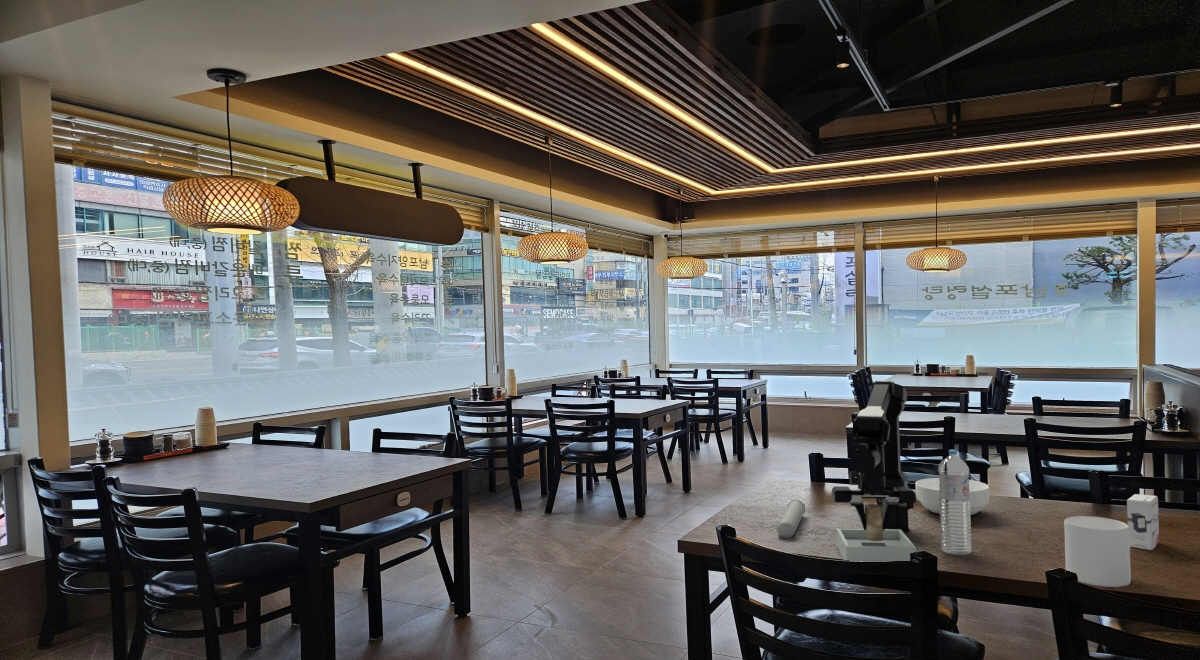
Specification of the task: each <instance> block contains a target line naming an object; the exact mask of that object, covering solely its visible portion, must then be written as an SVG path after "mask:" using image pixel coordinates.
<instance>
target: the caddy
mask: <svg viewBox="0 0 1200 660" xmlns="http://www.w3.org/2000/svg"><path fill="white" fill-rule="evenodd" d="M836 546H837V548H838V551H839V553H840V554H841V557H842V559H843V561H844V560H849V561H863V562H883V561H909V560H910V553H913V552H916V553H917V547H916V546H915V545H914V544H913V542H912V541H911V540H910V538H909V537H908V536H907V535H906V534H905V533H904V532H902V530H899V529H885V530H883V540H882V541H870V540H867V539H866V531H865V530H864V529H863V528H836Z"/></svg>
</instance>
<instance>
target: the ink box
mask: <svg viewBox="0 0 1200 660" xmlns="http://www.w3.org/2000/svg"><path fill="white" fill-rule="evenodd" d="M1126 511H1127V525H1128V526H1129V538H1130V548H1135V549H1136V548H1137V549H1142V550H1148V551H1153V550H1154V549H1155V548H1156V547H1157V545H1159V543H1160V531H1159V527H1160V525H1159V523H1160V521H1159V498H1158V496H1157V495H1147V494H1139V493H1138V494H1137V493H1135V494H1133V495H1132V496H1130V497H1129V498H1128V499H1127V500H1126Z"/></svg>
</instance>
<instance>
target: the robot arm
mask: <svg viewBox="0 0 1200 660" xmlns="http://www.w3.org/2000/svg"><path fill="white" fill-rule="evenodd" d="M907 399H908V392H907V389H906V388H905V386H903V385H901V384H898V383H895V381H892V380H890V379H889V380H886V379H885V380H878V379H877V380H873V381H872V385H870V396H869V398H868V402H867V405H866V407H865V408H863V409H861V410H859V411H858V413H857V415H856V417H855V418H854V419H853V422H852V423H853V424H852V432H851V438H850V445H851V444H852V445H857V449H855V450H854V451H853V452H852V453H851V455H850V457H849V463H850V466H851V468H852V470H854V471H851V470H850V471H849V483H850V485H852V486H854V485H855V486H856V485H857V489H856V490H854V489H853V490H851V489H850V487H849V486H836V485H835V486H833V487H832V489H831V498H832V500H833V501H834V502H835V503H849V504H850V506H851V507H854V508H855V510H856V512H857V514H858V517H859V521H860V522H861V525H862V529H864V530H866V519H865V504H864V503H863V501H862V500H863V499H876V504H877V505H881V506H882V518H883V530H885V529H899V530H902V532H903V533H904V532H911V528H910V527H909V510H911V509H914V508H915V506H914V505H915V504H916V503H917V496H916V491H914V490H913V489H912V488H911V487H910V486H908V485H909V484H908V479H907V477H906V475H905V474H904V473H903V471H902V469H901V441H900V439H901V437H900V417H901V414H902V412H903V410H904V409H905V407H906V406H905V404H906V403H907V401H908V400H907Z"/></svg>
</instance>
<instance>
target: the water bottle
mask: <svg viewBox="0 0 1200 660" xmlns="http://www.w3.org/2000/svg"><path fill="white" fill-rule="evenodd" d="M957 455H958V450H956V449H949V450H948V456H947V457H946V458H944V459H943V460H941V462H940V463H939V465H938V467H937V468H938V478H939V487H940V498H939V501H940V502H939V504H940V514H939V523H940V524H939V525H940V526H939V527H940V528H939V529H940V546H941V547H940V548H941V551H942V552H944V553H945V554H948V555H953V556H967V555H970V554H971V552H972V530H971V529H972V524H971V523H972V522H971V521H972V519H971V516H972V515H970V499H969V480H970V479H969V477H970V468H969V466H968V465H967V463H966V462H965V461H964V460H963V459H962V458H960V457H959V456H957Z"/></svg>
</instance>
